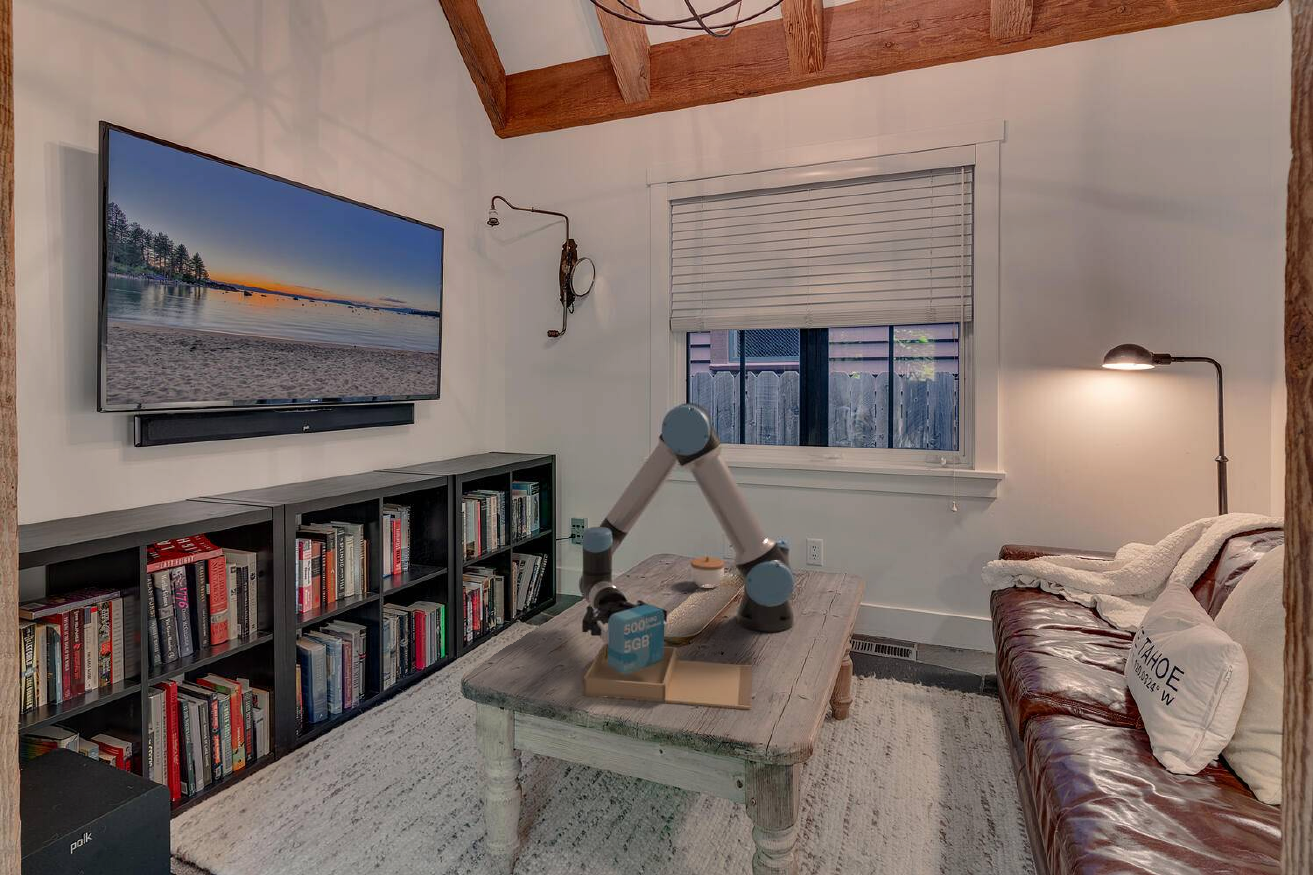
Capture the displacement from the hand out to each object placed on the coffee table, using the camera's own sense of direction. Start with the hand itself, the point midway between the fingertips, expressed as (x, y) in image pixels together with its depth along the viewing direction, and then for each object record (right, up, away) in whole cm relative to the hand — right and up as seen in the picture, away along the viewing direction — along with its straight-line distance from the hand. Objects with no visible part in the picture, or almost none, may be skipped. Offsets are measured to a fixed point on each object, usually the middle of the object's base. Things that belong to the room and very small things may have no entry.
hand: (637, 633), depth 142 cm
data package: (0, -7, +1) cm, 7 cm away
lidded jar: (+20, -5, +68) cm, 72 cm away
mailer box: (+7, -11, +3) cm, 14 cm away
